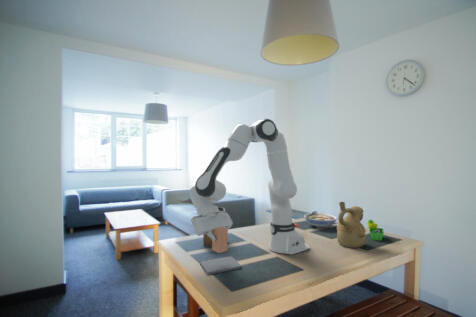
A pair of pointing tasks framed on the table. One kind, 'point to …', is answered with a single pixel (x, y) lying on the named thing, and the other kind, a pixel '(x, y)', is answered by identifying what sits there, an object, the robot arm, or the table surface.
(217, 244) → the block
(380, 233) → the fruit basket
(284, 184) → the robot arm
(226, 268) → the mat
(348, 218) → the ceramic vessel
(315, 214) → the ramen bowl
